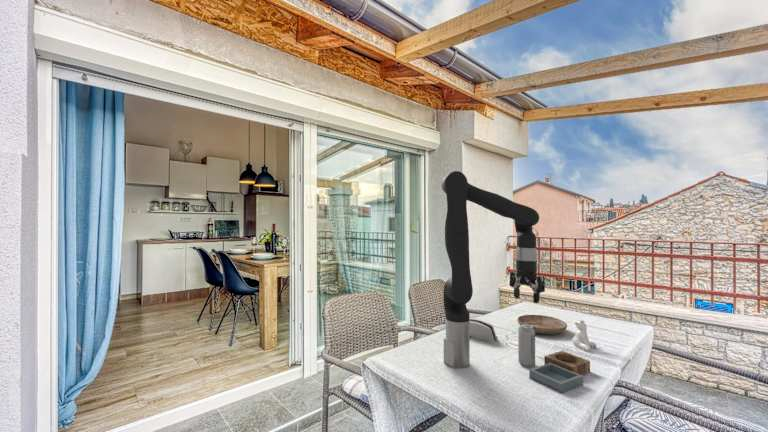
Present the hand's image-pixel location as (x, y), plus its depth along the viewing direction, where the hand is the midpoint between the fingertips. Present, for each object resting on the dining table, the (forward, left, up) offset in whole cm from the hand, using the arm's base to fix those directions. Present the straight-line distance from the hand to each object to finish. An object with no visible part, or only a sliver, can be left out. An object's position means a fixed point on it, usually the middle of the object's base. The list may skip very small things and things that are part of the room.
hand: (526, 300), depth 130 cm
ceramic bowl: (+43, +24, -25) cm, 55 cm away
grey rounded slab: (+6, +31, -25) cm, 41 cm away
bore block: (+10, -10, -25) cm, 29 cm away
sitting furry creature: (+38, 0, -25) cm, 46 cm away
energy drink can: (0, 0, -25) cm, 25 cm away
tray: (-3, -14, -25) cm, 29 cm away
